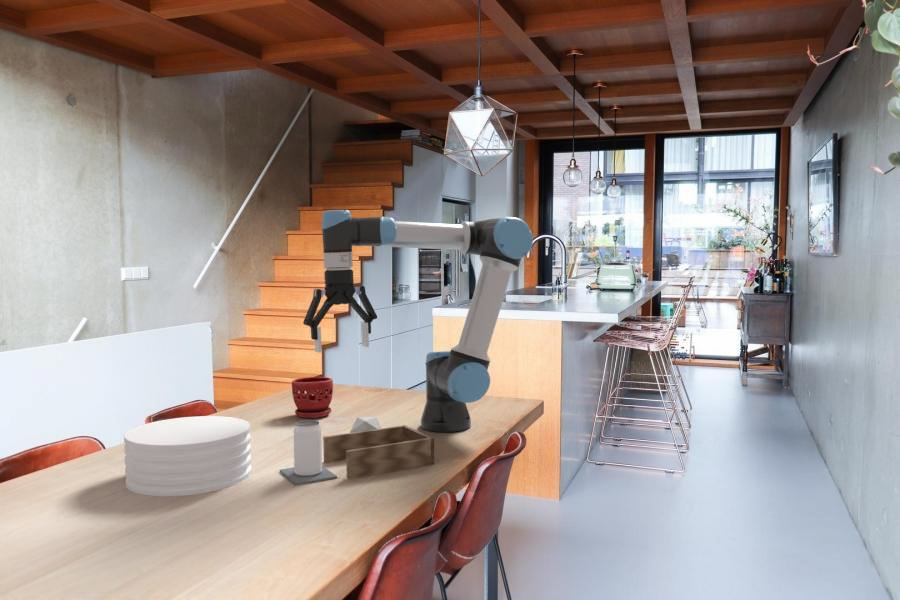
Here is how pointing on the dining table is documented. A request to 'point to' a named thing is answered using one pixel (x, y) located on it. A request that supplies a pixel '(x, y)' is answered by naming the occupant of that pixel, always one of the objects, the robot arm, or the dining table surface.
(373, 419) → the die
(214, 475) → the plate stack
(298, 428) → the can
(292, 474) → the slate mat
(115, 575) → the dining table surface
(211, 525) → the dining table surface
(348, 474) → the walnut u-shaped enclosure
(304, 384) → the plant pot
